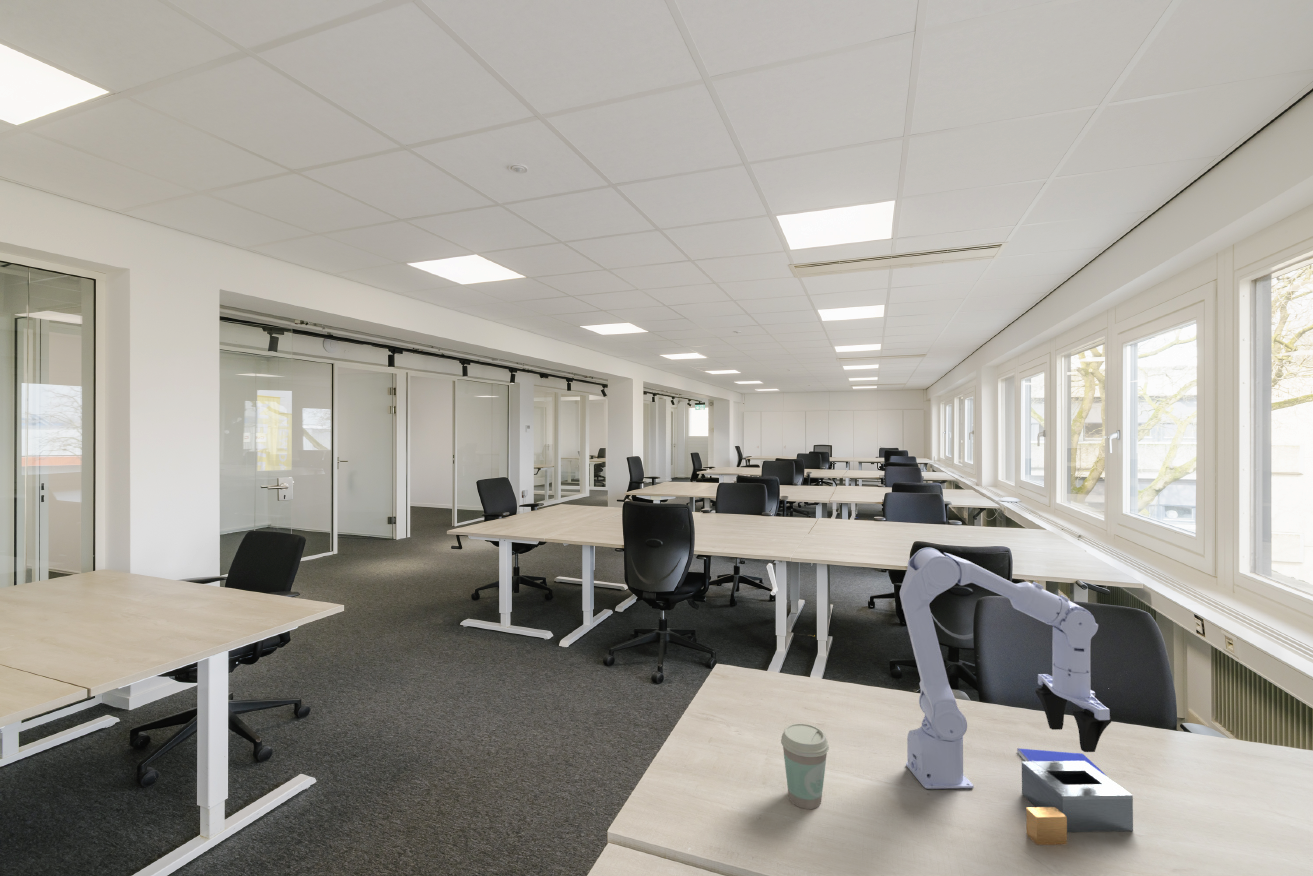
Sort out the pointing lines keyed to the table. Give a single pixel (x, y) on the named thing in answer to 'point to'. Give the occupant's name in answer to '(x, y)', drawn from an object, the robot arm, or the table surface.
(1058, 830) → the orange rectangular block
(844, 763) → the table surface
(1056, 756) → the hard drive
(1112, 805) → the grey block with slot
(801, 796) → the coffee cup
